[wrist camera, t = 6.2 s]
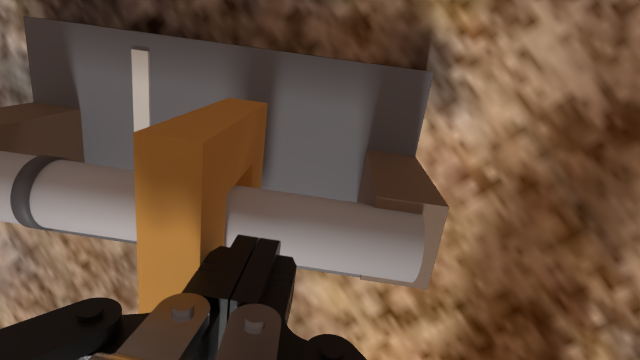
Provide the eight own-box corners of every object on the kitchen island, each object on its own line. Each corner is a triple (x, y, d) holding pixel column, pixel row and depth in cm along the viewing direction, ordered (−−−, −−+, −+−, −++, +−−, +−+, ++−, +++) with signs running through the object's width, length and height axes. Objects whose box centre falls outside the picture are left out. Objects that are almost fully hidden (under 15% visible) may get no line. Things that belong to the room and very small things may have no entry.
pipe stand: (426, 70, 23) (498, 85, 12) (384, 266, 28) (410, 405, 17) (49, 19, 24) (-209, -12, 13) (69, 219, 28) (-109, 323, 17)
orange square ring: (267, 102, 19) (203, 142, 10) (255, 257, 22) (196, 387, 13) (229, 97, 19) (132, 132, 10) (221, 252, 22) (141, 378, 13)
